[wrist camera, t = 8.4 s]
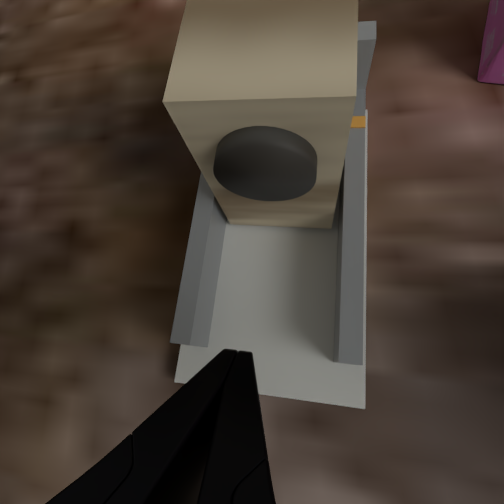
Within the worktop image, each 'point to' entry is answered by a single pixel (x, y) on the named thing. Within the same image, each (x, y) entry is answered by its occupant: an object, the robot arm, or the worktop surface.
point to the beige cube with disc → (267, 104)
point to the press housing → (285, 285)
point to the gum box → (493, 45)
